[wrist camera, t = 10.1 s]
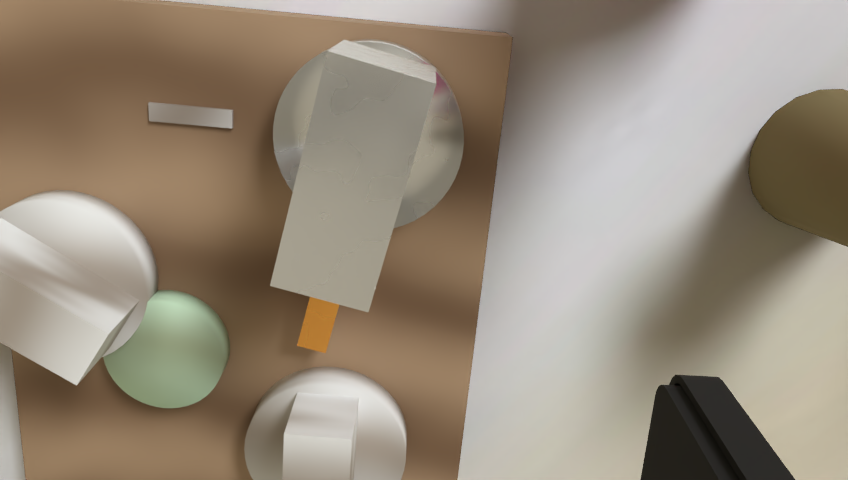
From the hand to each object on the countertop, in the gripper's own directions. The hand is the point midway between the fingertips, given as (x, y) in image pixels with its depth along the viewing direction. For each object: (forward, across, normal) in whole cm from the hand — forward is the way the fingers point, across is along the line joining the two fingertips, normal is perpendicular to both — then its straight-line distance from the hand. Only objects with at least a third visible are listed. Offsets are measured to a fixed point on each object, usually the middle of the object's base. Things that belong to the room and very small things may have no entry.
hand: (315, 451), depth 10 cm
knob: (+20, +1, +2) cm, 20 cm away
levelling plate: (+22, +6, +6) cm, 24 cm away
